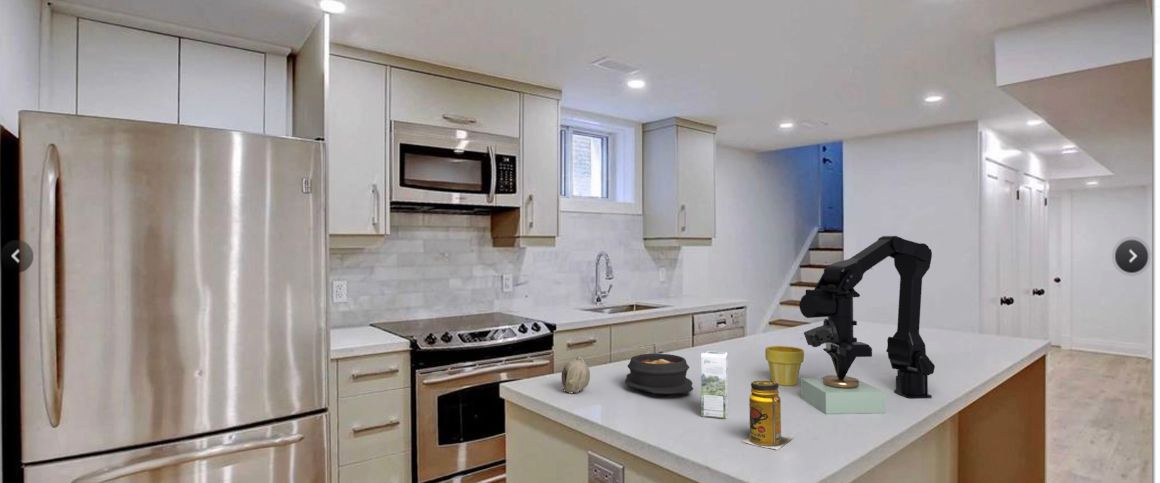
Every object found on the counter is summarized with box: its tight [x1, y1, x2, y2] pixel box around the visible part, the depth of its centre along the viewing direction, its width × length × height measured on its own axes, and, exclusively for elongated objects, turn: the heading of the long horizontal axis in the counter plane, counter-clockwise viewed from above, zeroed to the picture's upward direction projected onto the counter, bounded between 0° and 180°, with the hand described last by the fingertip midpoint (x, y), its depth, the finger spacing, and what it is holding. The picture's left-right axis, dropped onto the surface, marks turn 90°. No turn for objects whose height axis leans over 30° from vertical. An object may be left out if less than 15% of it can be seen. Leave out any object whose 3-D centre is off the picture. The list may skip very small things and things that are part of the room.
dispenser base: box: [800, 377, 886, 415], centre depth 143 cm, size 14×14×5 cm
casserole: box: [624, 353, 694, 395], centre depth 160 cm, size 25×19×8 cm
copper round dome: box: [822, 374, 860, 388], centre depth 143 cm, size 8×8×5 cm
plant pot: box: [765, 345, 805, 386], centre depth 165 cm, size 10×10×10 cm
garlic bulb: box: [561, 356, 591, 394], centre depth 158 cm, size 9×8×10 cm
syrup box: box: [700, 350, 729, 419], centre depth 135 cm, size 6×6×14 cm
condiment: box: [742, 379, 793, 451], centre depth 118 cm, size 7×8×12 cm
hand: (840, 379), depth 143 cm, fingers closed, pressing on copper round dome
